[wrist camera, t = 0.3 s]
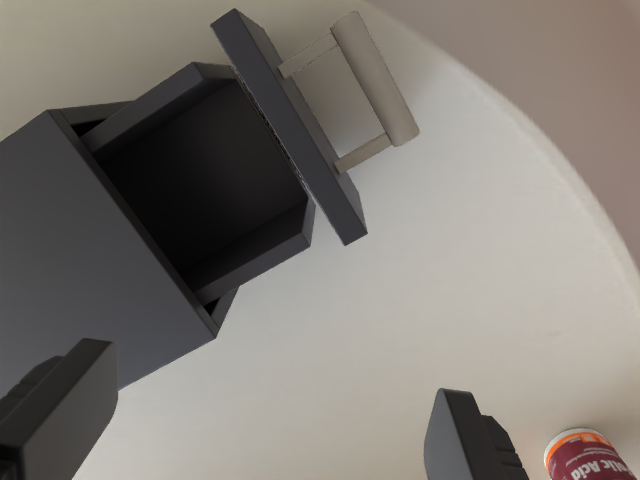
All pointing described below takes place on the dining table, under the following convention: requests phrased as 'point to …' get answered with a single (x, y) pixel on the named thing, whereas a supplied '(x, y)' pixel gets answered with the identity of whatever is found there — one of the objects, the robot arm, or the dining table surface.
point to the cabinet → (84, 259)
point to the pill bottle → (584, 457)
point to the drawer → (243, 155)
